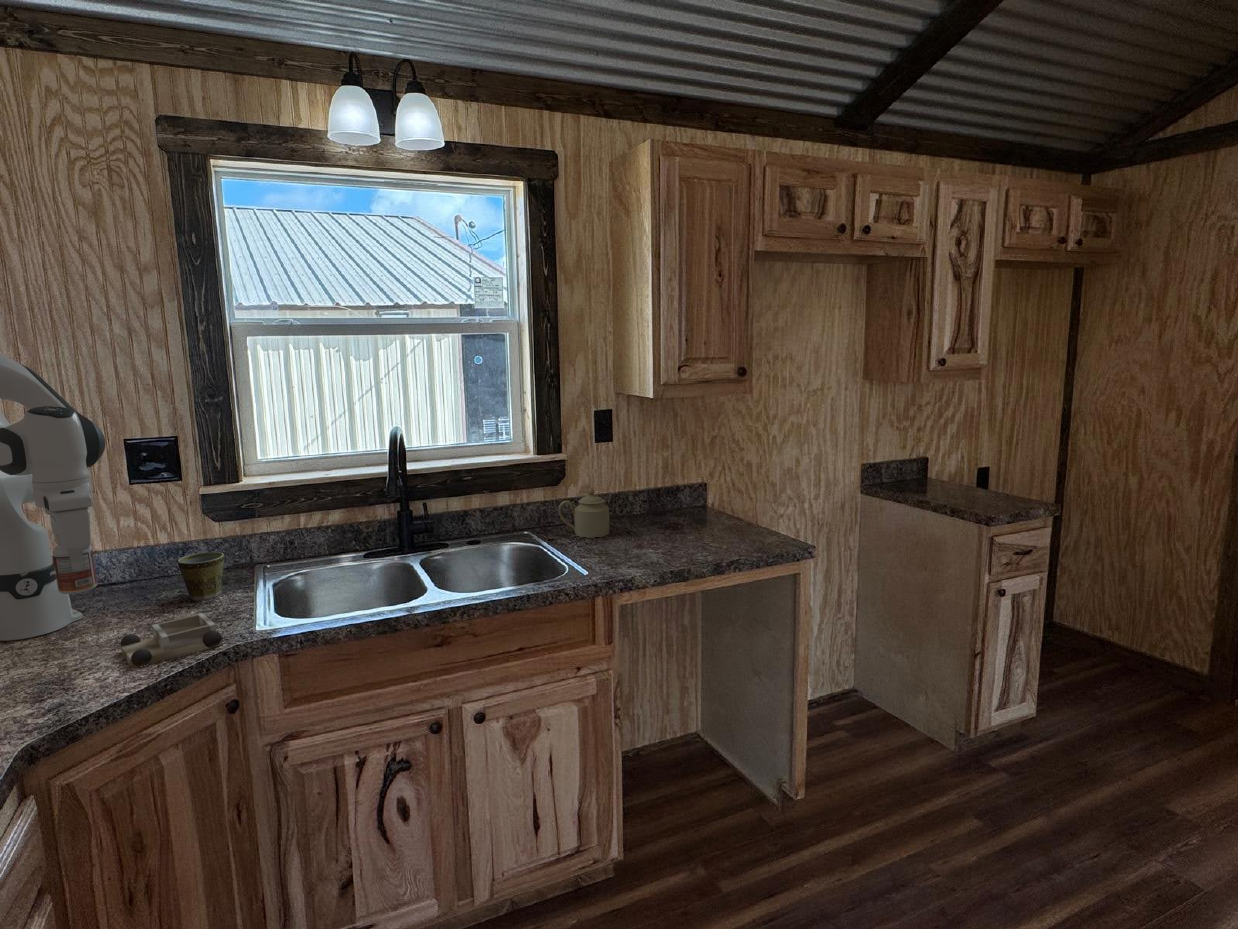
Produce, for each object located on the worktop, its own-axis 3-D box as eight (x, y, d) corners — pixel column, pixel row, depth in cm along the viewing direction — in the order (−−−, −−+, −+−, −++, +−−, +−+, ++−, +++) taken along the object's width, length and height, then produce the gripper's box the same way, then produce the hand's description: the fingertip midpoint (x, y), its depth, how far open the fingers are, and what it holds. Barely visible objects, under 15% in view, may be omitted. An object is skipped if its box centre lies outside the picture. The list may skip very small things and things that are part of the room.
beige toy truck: (121, 652, 154) (118, 631, 153) (207, 630, 164) (205, 611, 164) (132, 669, 146) (129, 647, 145) (222, 645, 156) (220, 624, 156)
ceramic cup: (234, 595, 188) (230, 556, 186) (191, 606, 180) (186, 566, 179) (214, 584, 196) (210, 547, 195) (172, 594, 189) (167, 556, 187)
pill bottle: (71, 585, 147) (62, 530, 145) (104, 583, 147) (96, 528, 145) (50, 596, 140) (41, 538, 139) (85, 594, 141) (77, 537, 139)
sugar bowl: (571, 542, 229) (570, 493, 227) (558, 534, 239) (556, 487, 236) (615, 535, 236) (614, 488, 233) (600, 527, 245) (599, 482, 243)
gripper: (36, 488, 146) (46, 557, 148) (49, 504, 131) (61, 580, 134) (75, 484, 150) (85, 550, 153) (93, 498, 135) (103, 572, 138)
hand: (74, 564), depth 143 cm, fingers closed on pill bottle, 6 cm apart
